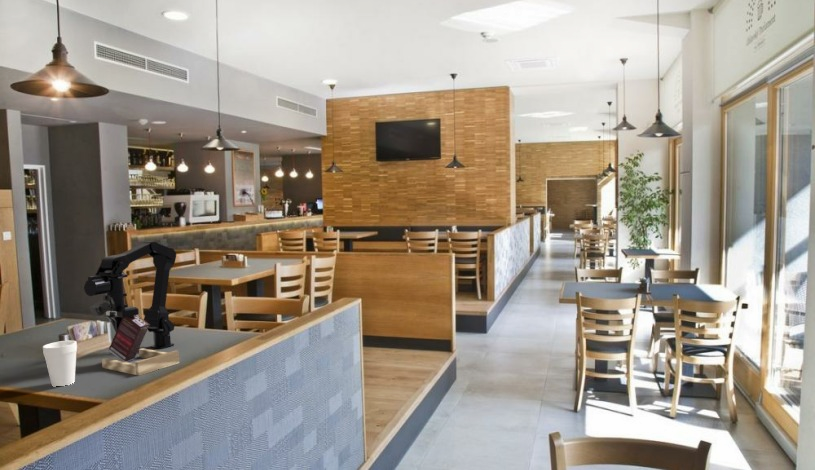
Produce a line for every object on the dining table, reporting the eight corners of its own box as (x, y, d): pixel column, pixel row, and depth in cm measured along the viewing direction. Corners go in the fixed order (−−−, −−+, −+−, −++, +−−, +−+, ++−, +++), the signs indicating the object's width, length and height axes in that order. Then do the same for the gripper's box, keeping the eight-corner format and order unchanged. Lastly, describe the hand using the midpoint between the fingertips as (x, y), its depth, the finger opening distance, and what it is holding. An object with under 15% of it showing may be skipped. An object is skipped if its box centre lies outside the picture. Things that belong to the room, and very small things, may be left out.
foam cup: (56, 380, 189) (52, 341, 188) (85, 378, 190) (82, 339, 189) (40, 389, 180) (36, 349, 179) (71, 387, 181) (67, 347, 180)
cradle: (102, 367, 202) (101, 355, 201) (143, 356, 215) (142, 344, 214) (138, 375, 190) (137, 362, 190) (179, 362, 203) (178, 350, 203)
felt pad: (116, 366, 202) (116, 366, 202) (142, 359, 210) (142, 358, 210) (140, 371, 194) (140, 371, 194) (166, 363, 203) (166, 363, 203)
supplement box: (134, 359, 210) (150, 324, 207) (124, 363, 206) (141, 327, 202) (117, 346, 212) (133, 311, 209) (107, 350, 207) (123, 314, 204)
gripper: (78, 293, 206) (82, 336, 207) (107, 296, 196) (111, 341, 197) (108, 288, 215) (112, 329, 216) (138, 291, 205) (141, 334, 206)
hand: (118, 333), depth 209 cm, fingers closed
